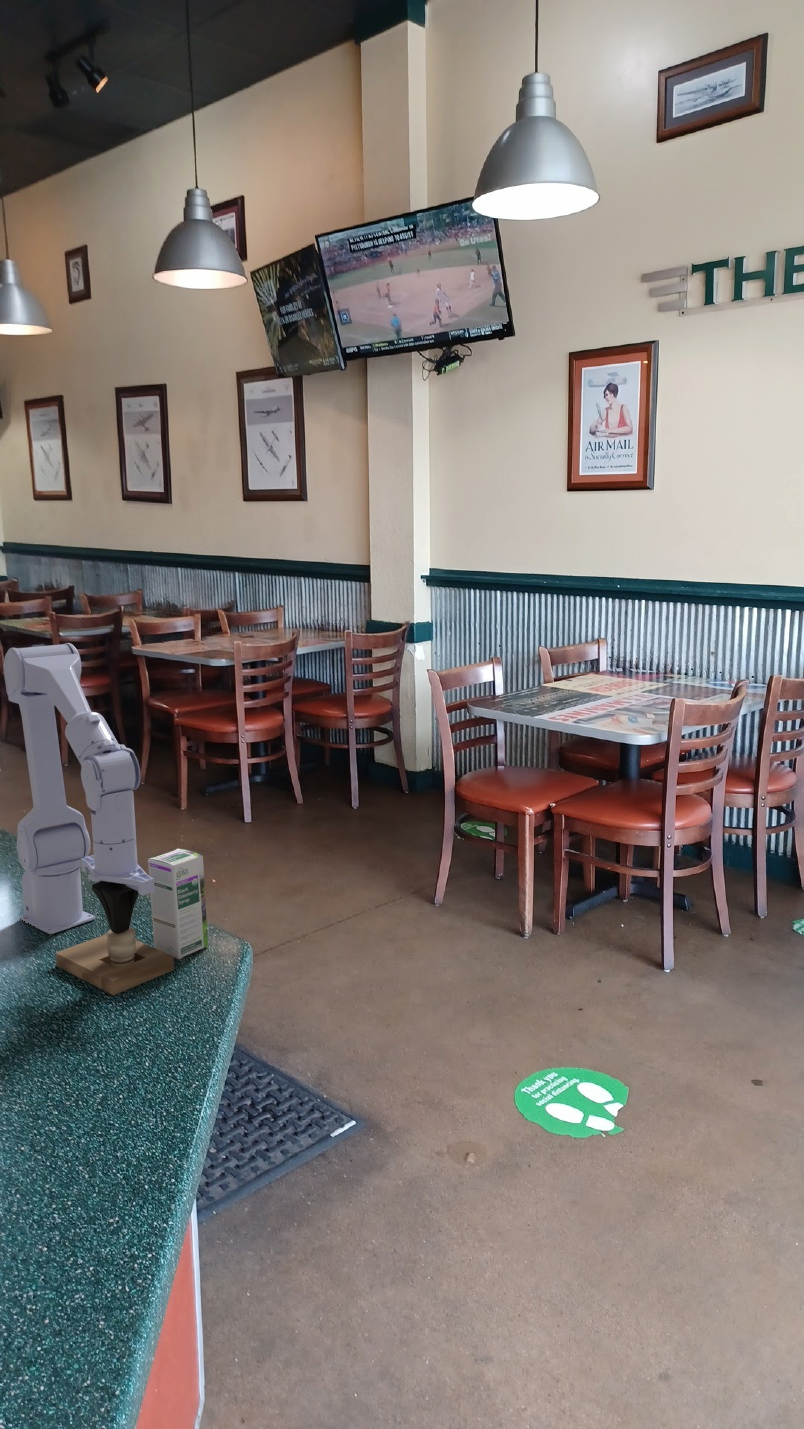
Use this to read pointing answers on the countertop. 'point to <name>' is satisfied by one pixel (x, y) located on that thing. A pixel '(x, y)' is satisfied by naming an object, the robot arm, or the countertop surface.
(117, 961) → the peg
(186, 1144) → the countertop surface
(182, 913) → the syrup box
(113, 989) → the board
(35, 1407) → the countertop surface
